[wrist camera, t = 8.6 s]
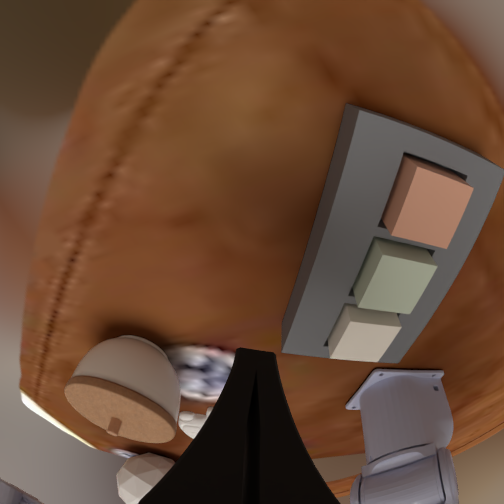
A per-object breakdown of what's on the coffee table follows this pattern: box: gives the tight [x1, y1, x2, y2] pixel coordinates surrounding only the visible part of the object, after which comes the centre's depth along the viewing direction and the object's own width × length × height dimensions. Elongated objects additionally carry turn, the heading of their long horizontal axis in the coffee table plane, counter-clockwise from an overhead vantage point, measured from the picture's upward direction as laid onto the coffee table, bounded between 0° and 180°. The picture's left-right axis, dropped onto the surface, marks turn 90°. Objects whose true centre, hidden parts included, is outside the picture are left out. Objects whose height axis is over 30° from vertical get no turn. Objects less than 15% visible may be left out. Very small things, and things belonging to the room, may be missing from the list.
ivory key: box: [328, 303, 402, 362], centre depth 20 cm, size 4×4×3 cm
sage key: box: [352, 236, 438, 314], centre depth 17 cm, size 4×4×3 cm
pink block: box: [381, 153, 474, 249], centre depth 15 cm, size 4×4×3 cm
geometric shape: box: [116, 453, 175, 504], centre depth 44 cm, size 14×15×15 cm
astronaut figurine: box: [179, 407, 214, 439], centre depth 35 cm, size 9×12×3 cm
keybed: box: [281, 103, 504, 363], centre depth 19 cm, size 10×17×3 cm, turn 171°
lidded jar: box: [64, 335, 180, 443], centre depth 25 cm, size 11×11×9 cm
